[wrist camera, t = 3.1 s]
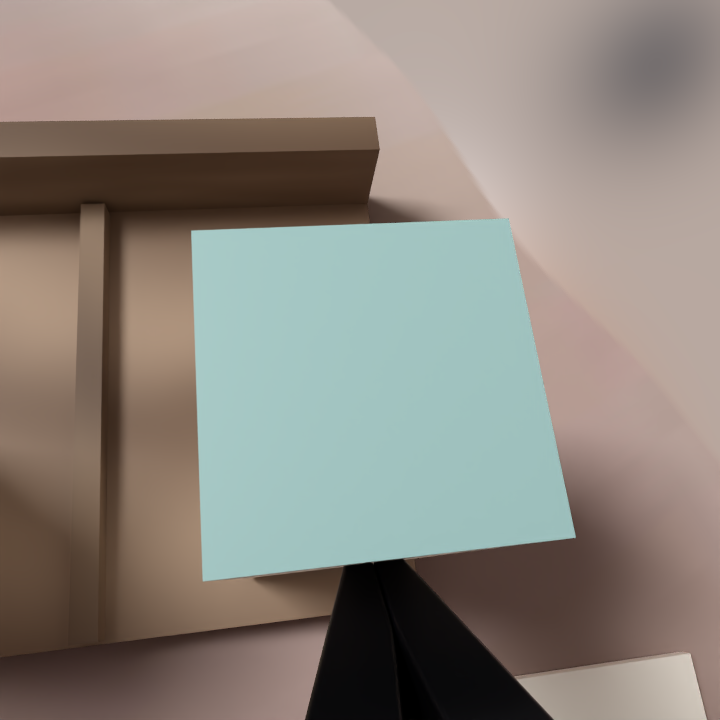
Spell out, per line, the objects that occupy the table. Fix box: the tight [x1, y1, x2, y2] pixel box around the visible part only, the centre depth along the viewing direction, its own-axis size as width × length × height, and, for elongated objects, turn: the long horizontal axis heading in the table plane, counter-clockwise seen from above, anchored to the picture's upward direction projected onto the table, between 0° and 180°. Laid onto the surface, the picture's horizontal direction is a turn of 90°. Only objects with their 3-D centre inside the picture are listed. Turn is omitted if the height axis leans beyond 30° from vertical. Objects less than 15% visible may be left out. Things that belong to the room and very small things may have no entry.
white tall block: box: [191, 219, 576, 581], centre depth 11 cm, size 4×4×9 cm
